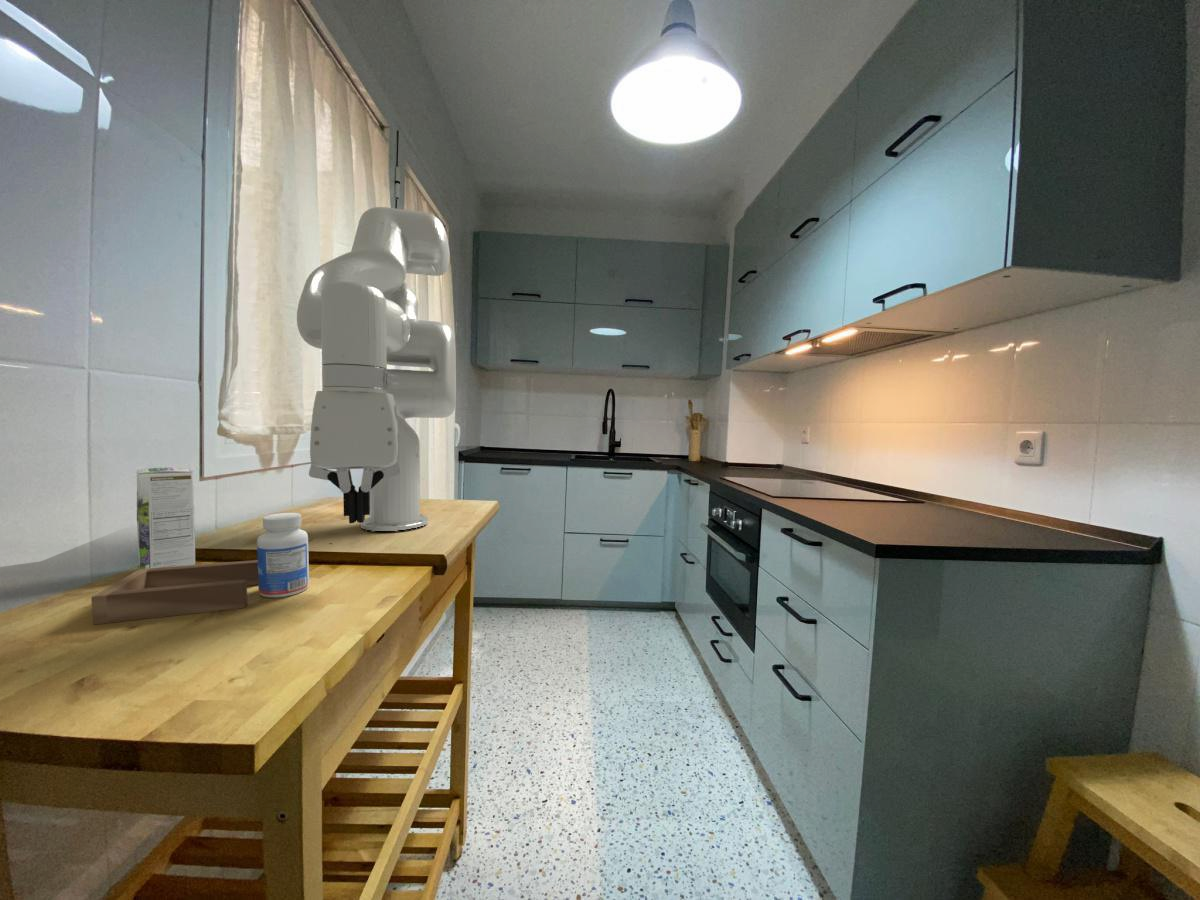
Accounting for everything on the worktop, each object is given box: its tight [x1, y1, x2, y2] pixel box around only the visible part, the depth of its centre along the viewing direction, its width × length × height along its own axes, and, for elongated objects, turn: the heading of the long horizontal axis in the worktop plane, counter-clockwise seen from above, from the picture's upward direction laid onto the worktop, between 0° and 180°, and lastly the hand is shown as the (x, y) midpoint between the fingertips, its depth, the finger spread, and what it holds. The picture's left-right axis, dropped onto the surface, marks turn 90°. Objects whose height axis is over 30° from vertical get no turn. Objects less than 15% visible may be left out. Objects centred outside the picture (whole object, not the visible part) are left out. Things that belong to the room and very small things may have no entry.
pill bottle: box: [256, 512, 310, 599], centre depth 60 cm, size 6×5×10 cm
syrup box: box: [136, 466, 196, 570], centre depth 66 cm, size 6×6×14 cm
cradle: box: [90, 559, 258, 625], centre depth 56 cm, size 9×13×3 cm
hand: (357, 520), depth 62 cm, fingers closed
